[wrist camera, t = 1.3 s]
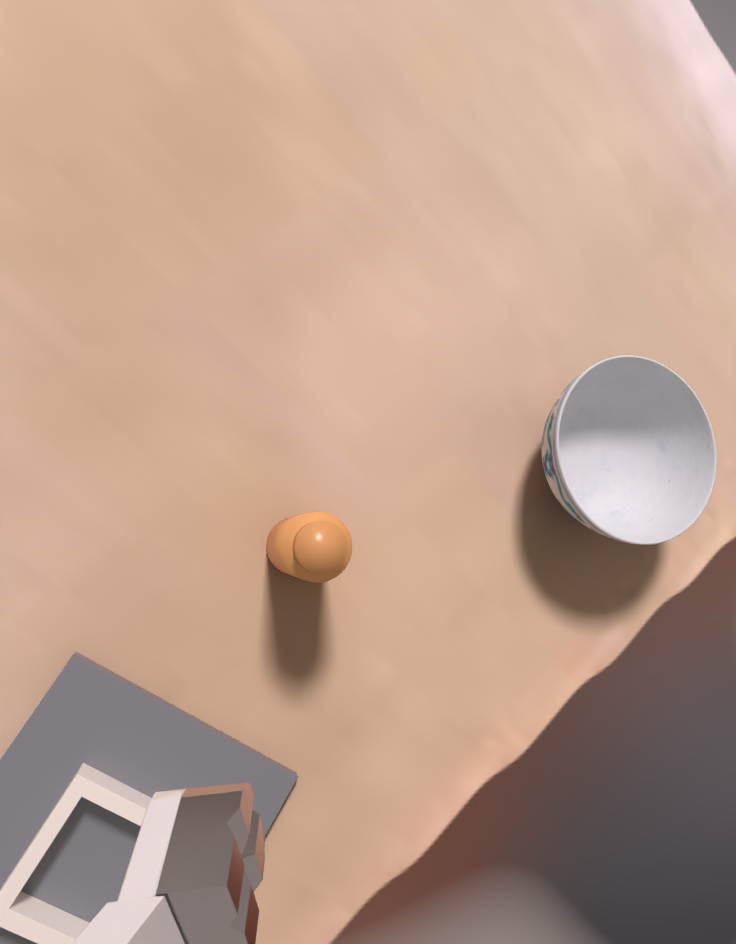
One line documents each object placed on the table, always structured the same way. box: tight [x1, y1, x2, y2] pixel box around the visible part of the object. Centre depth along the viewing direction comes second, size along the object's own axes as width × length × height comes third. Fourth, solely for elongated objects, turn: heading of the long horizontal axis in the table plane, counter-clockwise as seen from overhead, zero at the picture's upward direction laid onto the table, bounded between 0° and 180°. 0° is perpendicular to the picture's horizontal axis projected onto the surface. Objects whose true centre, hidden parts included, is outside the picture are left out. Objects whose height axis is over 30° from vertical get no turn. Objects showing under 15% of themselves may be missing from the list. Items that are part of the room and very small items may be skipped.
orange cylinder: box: [266, 512, 352, 583], centre depth 40 cm, size 4×4×10 cm
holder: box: [0, 652, 298, 944], centre depth 38 cm, size 18×20×3 cm
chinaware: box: [542, 355, 717, 545], centre depth 50 cm, size 15×15×8 cm
